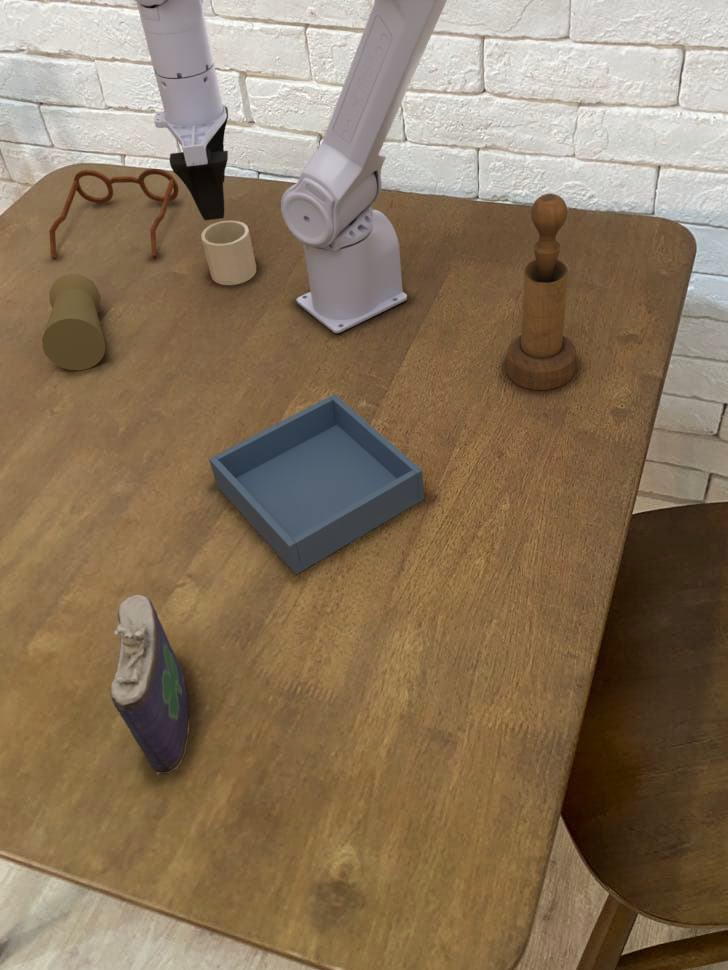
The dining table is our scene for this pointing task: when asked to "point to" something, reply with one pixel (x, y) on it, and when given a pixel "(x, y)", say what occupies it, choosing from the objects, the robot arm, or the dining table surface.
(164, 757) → the flask
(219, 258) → the cream cup
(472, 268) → the dining table surface
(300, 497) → the tray
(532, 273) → the mortar and pestle
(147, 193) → the glasses
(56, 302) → the pepper mill
